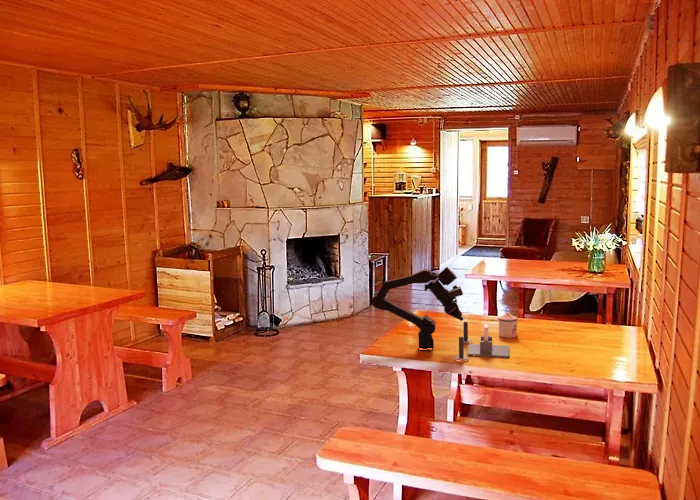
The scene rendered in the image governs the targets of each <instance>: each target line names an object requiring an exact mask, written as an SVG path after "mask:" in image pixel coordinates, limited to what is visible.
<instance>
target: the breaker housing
mask: <svg viewBox="0 0 700 500" xmlns="http://www.w3.org/2000/svg"><path fill="white" fill-rule="evenodd" d="M467 355H475V356H487V357H486V358H496V357H500V359H504V358H505V359H510V345H497V344H493V336H492V335H488V341H484V335H480V340H479V344H475V343H472V344H468V348H467V352H466V356H467ZM475 356H474V357H475Z"/></svg>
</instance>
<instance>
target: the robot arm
mask: <svg viewBox="0 0 700 500" xmlns="http://www.w3.org/2000/svg"><path fill="white" fill-rule="evenodd" d="M457 279H458V277H457V276H456V274H455V273H454V272H453V271H452V270H451V269H450V268H449V267H448V266H446V267H445V268H444V269H443V270H442V271H440V273H438V272H434V271H432V270H431V269H429V268H422V269H421V270H419V271H416V272H415V273H413V274H410V275H406V276H402V277H397V278H394V279H390V280H385V281H384V282H383V283H382V285H381V288H380V289H379V290H378V293H376V294H375V295H373V297H372V298H371V305H372V307H374V308H376V309H379V310H381V311H387V312H390V313H391V314H394V315H395V316H397V317H400V318H401V319H403V320H406V321H407V322H410V323H411V324H413V325H415V326H416V327H417V328H418V329H419V331H418V332H417V335H418V346H419V348H423V349H427V348H433V349H434V348H435V347H434V345H435V344H434V341H435V339H434V338H433V335H432V334H434V333H435V332H436V329H437V323H436V321H435V320H434V319H433V317H429V315H427V314H424V315H423V316H420V315H418V314H415V313H413V312H412V311H409V310H408V309H406V308H404V307H402V306H400V305H398V304H396V303H394V302H393V301H391V300H390V298H388V297H387V294H388V292H389V291H390V290H391V289H396V288H400V287H404V286H408V285H412V284H424V292H427V290H429V291H430V292H431V294H433V296H434V297H435V299H436V300H437V301H439V303H440V304H441V305H442V307H443V311H444V313H445V314H446V315H449V316H451V317H452V318H455V319H457V320H459V321H464V317H463V313H462V312H461V310H460V307H459V305H458V300H457V297H460V296H461V297H462V296H463V295H464V293H463V290H462V287H461V286H457V285H453V286H452V289H450V290H448V288H445V286H449V285H451V284H452V283H453V282H455V280H457Z"/></svg>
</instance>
